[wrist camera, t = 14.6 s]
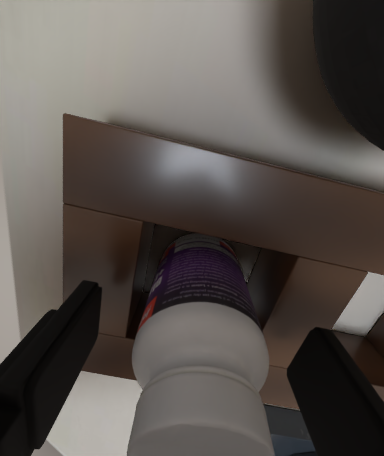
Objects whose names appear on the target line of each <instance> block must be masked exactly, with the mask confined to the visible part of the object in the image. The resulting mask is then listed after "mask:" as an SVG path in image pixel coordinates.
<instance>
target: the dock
mask: <svg viewBox="0 0 384 456" xmlns="http://www.w3.org/2000/svg"><path fill="white" fill-rule="evenodd" d="M63 203H64V204H63V303H64V302H65V301H66V299H67V298H68V297H69V296H70V295H71V294H72V292H73V291H74V290H75V289H76V288H77V286H78V285H79V284H80V283H81V282H82V281H83V280H88V281H93V282H97V283H98V284H99V287H102V299H101V310H100V321H99V333H98V337H97V340H96V342H95V344H94V346H93V348H92V350H91V352H90V354H89V356H88V358H87V360H86V362H85V364H84V366H83V368H82V370H81V371H86V372H91V373H97V374H103V375H108V376H114V377H120V378H125V379H131V380H137V379H136V377H135V374H134V370H133V366H132V350H133V346H134V342H135V338H136V334H137V331H138V328H139V325H140V322H141V319H142V316H143V313H144V310H145V306H146V303H147V300H148V297H149V293H144V292H143V286H144V281H145V275H146V270H147V264H148V258H149V253H150V247H151V241H152V236H153V230H154V224H159V225H164V226H168V227H172V228H177V229H181V230H186V231H190V232H195V233H199V234H204V235H208V236H212V237H217V238H221V239H226V240H230V241H235V242H239V243H244V244H248V245H252V246H257V247H261V248H262V249H261V251H260V254H259V256H258V259H257V261H256V264H255V266H254V269H253V271H252V274H251V276H250V279H249V281H248V284H247V288H248V291H249V294H250V297H251V300H252V303H253V305H254V308H255V311H256V314H257V317H258V320H259V323H260V326H261V328H262V331H263V334H264V338H265V342H266V345H267V349H268V354H269V370H268V375H267V378H266V381H265V383H264V385H263V387H262V388H261V390H260V391H259V394H260V396H261V400H262V403H267V404H273V405H278V406H284V407H290V408H295V409H299V407H298V404H297V401H296V399H295V396H294V394H293V391H292V389H291V386H290V383H289V381H288V378H287V368H288V366H289V365H290V363H291V361H292V360H293V358H294V356H295V355H296V353H297V351H298V350H299V348H300V346H301V345H302V343H303V341H304V340H305V338H306V336H307V335H308V333H309V331H310V330H313V328H315V327H320V328H325V329H330V330H331V329H332V327H333V326H334V324H335V323H336V321H337V320H338V318H339V316H340V315H341V313H342V312H343V310H344V309H345V307H346V306H347V304H348V303H349V301H350V300H351V298H352V297H353V295H354V294H355V292H356V290H357V289H358V287H359V286H360V284H361V283H362V281H363V280H364V278H365V277H366V275H367V274H368V272H372V273H377V274H381V275H384V193H383V192H379V191H375V190H371V189H367V188H363V187H359V186H355V185H351V184H347V183H343V182H339V181H335V180H331V179H327V178H323V177H319V176H316V175H312V174H308V173H304V172H300V171H296V170H292V169H288V168H284V167H280V166H276V165H272V164H268V163H264V162H260V161H256V160H252V159H248V158H244V157H240V156H236V155H232V154H228V153H224V152H220V151H216V150H212V149H208V148H204V147H200V146H196V145H192V144H188V143H184V142H180V141H176V140H172V139H168V138H164V137H160V136H157V135H153V134H149V133H145V132H141V131H137V130H133V129H129V128H125V127H121V126H117V125H113V124H109V123H105V122H100V121H96V120H92V119H87V118H83V117H79V116H75V115H70V114H66V113H65V114H63ZM367 271H368V272H367ZM333 333H334V334H335V335H336V337H337V338H338V339H339V341H340V342H341V344H342V345H343V346H344V348H345V349H346V350H347V352H348V353H349V355H350V356H351V357H352V359H353V360H354V361H355V363H356V364H357V366H358V367H359V368H360V370H361V371H362V372H363V374H364V375H365V377H366V378H367V379H368V381H369V382H370V383H371V385H372V386H373V388H374V389H375V390H376V392H377V393H378V394H379V396H380V397H381V399H382V400H383V401H384V314H383V315H382V316H381V318H380V319H379V320H378V322H377V323H376V324H375V326H374V327H373V328H372V330H371V331H370V332H369V334H368V335H367V336H366V337H361V336H356V335H351V334H346V333H341V332H336V331H333Z"/></svg>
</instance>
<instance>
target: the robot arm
mask: <svg viewBox="0 0 384 456" xmlns="http://www.w3.org/2000/svg"><path fill="white" fill-rule="evenodd" d="M101 299H102V287H99V284H98V283H97V282H93V281H88V280H83V281H82V282H81V283H80V284H79V285H78V286H77V288H76V289H75V290H74V291H73V292H72V294H71V295H70V296H69V297H68V298H67V299H66V301H65V302H64V303H63V304H62V305H61V307H60V308H59V309H58V310H50V311H48V312H47V313H46V314H45V315H44V316H43V317H42V318H41V319H40V320H39V322H38V323H37V324H36V325H35V326H34V327H33V328H32V329H31V331H30V332H29V333H28V334H27V335H26V336H25V337H24V338H23V339H22V341H21V342H20V343H19V344H18V345H17V346H16V347H15V349H14V350H13V351H12V352H11V353H10V354H9V355H8V356H7V357H6V358H5V360H4V361H3V362H2V363H1V364H0V456H31V454H32V453H33V451H34V449H40V448H41V447H42V445H43V444H44V442H45V440H46V438H47V436H48V434H49V432H50V430H51V428H52V426H53V424H54V422H55V420H56V418H57V417H58V415H59V413H60V411H61V409H62V407H63V405H64V403H65V401H66V399H67V397H68V395H69V393H70V391H71V389H72V387H73V385H74V383H75V381H76V379H77V378H78V376H79V374H80V372H81V370H82V368H83V366H84V364H85V362H86V360H87V358H88V356H89V354H90V352H91V350H92V348H93V346H94V344H95V342H96V340H97V337H98V333H99V321H100V310H101ZM287 378H288V381H289V383H290V386H291V389H292V391H293V394H294V396H295V399H296V401H297V404H298V407H299V409H300V412H301V414H302V417H303V420H304V422H305V425H306V427H307V430H308V432H309V435H310V438H311V440H312V443H313V445H314V448H315V451H316V453H317V456H384V401H383V400H382V399H381V397H380V396H379V394H378V393H377V392H376V390H375V389H374V388H373V386H372V385H371V383H370V382H369V381H368V379H367V378H366V377H365V375H364V374H363V372H362V371H361V370H360V368H359V367H358V366H357V364H356V363H355V361H354V360H353V359H352V357H351V356H350V355H349V353H348V352H347V350H346V349H345V348H344V346H343V345H342V344H341V342H340V341H339V339H338V338H337V337H336V335H335V334H334V333H333V331H332V330H330V329H325V328H320V327H315V328H313V330H310V331H309V333H308V335H307V336H306V338H305V340H304V341H303V343H302V345H301V346H300V348H299V350H298V351H297V353H296V355H295V356H294V358H293V360H292V361H291V363H290V365H289V366H288V368H287Z"/></svg>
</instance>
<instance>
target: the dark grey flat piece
mask: <svg viewBox="0 0 384 456" xmlns="http://www.w3.org/2000/svg"><path fill="white" fill-rule="evenodd" d="M264 408H265V411H266V416H267V421H268V426H269V430H270V435H271V440H272V444H273V449H274V454H275V456H317V453H316V451H315V448H314V445H313V443H312V440H311V438H310V435H309V432H308V430H307V427H306V425H305V422H304V420H303V417H302V414H301V412H300V411H295V410H290V409H284V408H278V407H273V406H267V405H264Z"/></svg>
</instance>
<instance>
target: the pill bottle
mask: <svg viewBox="0 0 384 456" xmlns="http://www.w3.org/2000/svg"><path fill="white" fill-rule="evenodd" d="M132 366H133V370H134V374H135V377H136V379H137V381H138V383H139V385H140V386H141V388H142V389H143V391H142V393H141V396H140V398H139V400H138V403H137V406H136V412H135V417H134V422H133V426H132V431H131V435H130V440H129V444H128V450H127V456H275V454H274V449H273V444H272V440H271V435H270V430H269V426H268V421H267V416H266V411H265V408H264V405H263V403H262V400H261V396H260V394H259V391H260V390H261V388H262V387H263V385H264V383H265V381H266V378H267V375H268V370H269V354H268V349H267V345H266V342H265V338H264V334H263V331H262V328H261V326H260V323H259V320H258V317H257V314H256V311H255V308H254V305H253V303H252V300H251V297H250V294H249V291H248V288H247V285H246V282H245V279H244V276H243V273H242V270H241V267H240V264H239V261H238V259H237V257H236V255H235V253H234V251H233V250H232V248H231V247H230V246H229V245H228V244H227V243H226V242H225V241H223V240H222V239H220V238H217V237H212V236H208V235H204V234H199V233H195V234H189V235H185V236H183V237H180V238H178V239H177V240H175V241H174V242H172V243H171V244H170V245H169V246H168V247H167V248H166V250H165V251H164V253H163V255H162V257H161V260H160V262H159V265H158V268H157V272H156V275H155V278H154V281H153V284H152V287H151V291H150V294H149V297H148V300H147V303H146V306H145V310H144V313H143V316H142V319H141V322H140V325H139V328H138V331H137V334H136V338H135V342H134V346H133V350H132Z"/></svg>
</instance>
